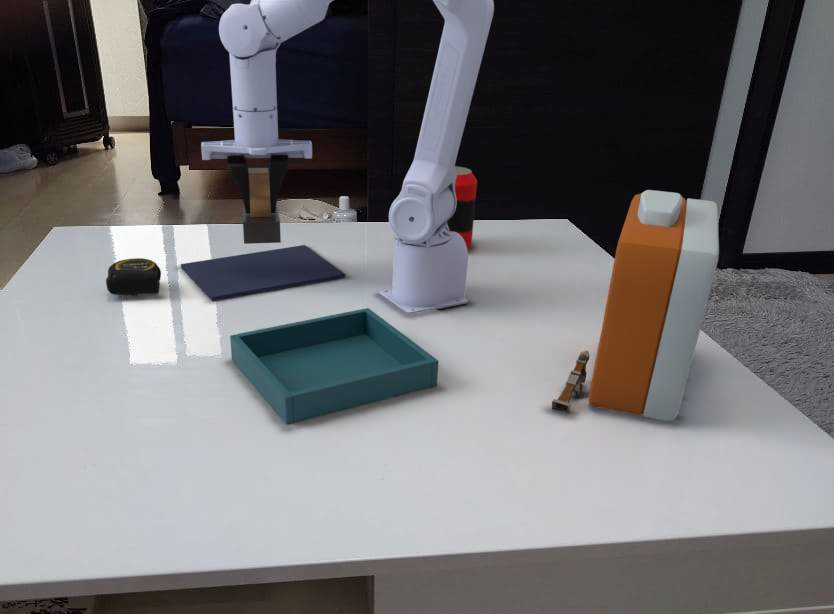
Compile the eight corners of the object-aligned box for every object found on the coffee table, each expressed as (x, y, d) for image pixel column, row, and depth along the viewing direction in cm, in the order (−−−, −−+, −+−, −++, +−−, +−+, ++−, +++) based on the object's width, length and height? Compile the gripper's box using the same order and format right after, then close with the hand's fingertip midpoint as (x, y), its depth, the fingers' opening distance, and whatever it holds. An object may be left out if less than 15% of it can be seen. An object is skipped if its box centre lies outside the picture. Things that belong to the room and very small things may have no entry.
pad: (304, 248, 122) (304, 244, 122) (345, 277, 111) (345, 273, 111) (181, 267, 114) (180, 263, 113) (211, 301, 103) (211, 297, 103)
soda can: (417, 240, 126) (421, 165, 120) (461, 237, 128) (467, 163, 122) (432, 255, 120) (437, 177, 114) (478, 252, 122) (485, 175, 116)
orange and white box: (605, 340, 95) (638, 170, 84) (681, 352, 92) (724, 178, 82) (585, 411, 80) (622, 215, 70) (675, 428, 77) (727, 227, 67)
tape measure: (107, 302, 102) (103, 275, 100) (115, 282, 108) (110, 257, 106) (160, 300, 103) (156, 273, 101) (164, 281, 109) (161, 255, 107)
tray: (367, 333, 95) (368, 307, 93) (436, 389, 83) (438, 360, 82) (231, 363, 88) (229, 335, 86) (286, 428, 76) (285, 397, 74)
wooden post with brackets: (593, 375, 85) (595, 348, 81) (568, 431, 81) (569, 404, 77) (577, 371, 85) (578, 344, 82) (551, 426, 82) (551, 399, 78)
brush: (278, 227, 112) (275, 164, 108) (280, 242, 106) (278, 176, 102) (243, 228, 112) (239, 164, 107) (244, 243, 106) (240, 177, 101)
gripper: (197, 113, 96) (206, 221, 103) (313, 113, 98) (315, 218, 105) (199, 104, 102) (207, 206, 109) (308, 103, 104) (310, 203, 111)
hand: (260, 211), depth 107 cm, fingers closed on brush, 3 cm apart
